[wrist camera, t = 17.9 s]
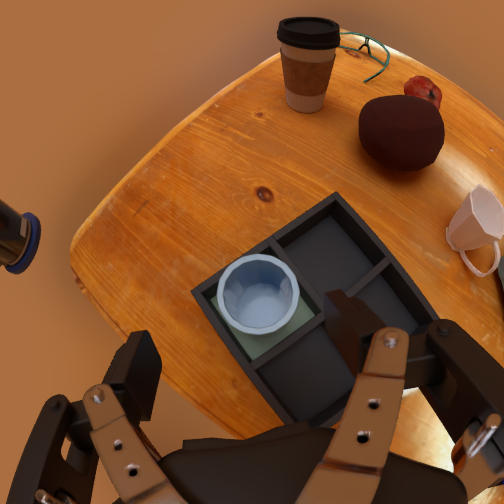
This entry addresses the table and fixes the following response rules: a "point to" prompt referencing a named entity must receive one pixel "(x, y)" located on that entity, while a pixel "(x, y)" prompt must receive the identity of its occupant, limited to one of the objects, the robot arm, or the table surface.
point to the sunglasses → (370, 52)
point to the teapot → (501, 270)
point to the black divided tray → (319, 310)
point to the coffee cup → (307, 59)
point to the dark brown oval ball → (401, 131)
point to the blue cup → (258, 295)
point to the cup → (477, 226)
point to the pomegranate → (423, 90)
